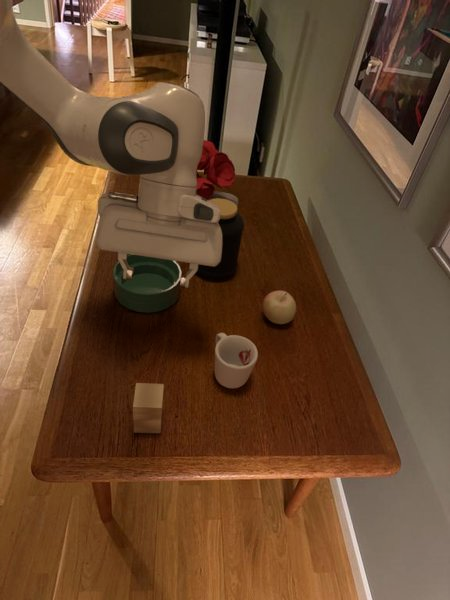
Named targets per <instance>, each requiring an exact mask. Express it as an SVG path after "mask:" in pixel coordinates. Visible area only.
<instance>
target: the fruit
mask: <svg viewBox="0 0 450 600" xmlns="http://www.w3.org/2000/svg"><path fill="white" fill-rule="evenodd" d="M261 308H262V309H261V310H262V312H263V314H264V317H266V318H267V320H269V321H270V322H271V323H273V324H275V325H284V324H288V323H290V322H291V321H292V320H293V319H294V317H295V315H296V312H297V304H296V301H295V299H294V297H293V296H292V295H291V294H290V293H289V292H287V291H285V290H279V289H278V290H274V291H271V292H269V293H268V294H266V296H265V297H264V298H263V300H262V304H261Z"/></svg>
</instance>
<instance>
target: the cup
mask: <svg viewBox="0 0 450 600" xmlns="http://www.w3.org/2000/svg"><path fill="white" fill-rule="evenodd" d="M258 357H259V352H258V348H257V346H256V345H255V344H254V342H253V341H252V340H250V339H248V338H247V337H244V336H241V335H237V334H236V335H235V334H231V335H227V334H226V333H225V332H219V333H217V334H216V336H215V347H214V376H215V379H216V381H217V383H218V384H220V385H221V386H223V387H225V388H227V389H238V388H240V387H242V386H244V385H246V383H247V381H248V380H249V378H250V376H251V374H252V371H253V369H254V367H255V365H256V363H257V361H258Z"/></svg>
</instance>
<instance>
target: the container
mask: <svg viewBox="0 0 450 600" xmlns="http://www.w3.org/2000/svg"><path fill="white" fill-rule="evenodd" d="M208 201H210V202H212V203H214V204H216V205H217V206H218V207H219V208H220V210H221V216H220V220H219V221H218V223H219V225H220V227H221V231H222V255H221V261H220V263H219V264H218V265H216V266H215V267H213V266H206V265H200V264H198V270H197V272H198V274H200V275H202V276H203V277H205V278H206V277H207V278H211V279H222V278H227V277H229V276H231V275H233V274H234V273H235V271H236V270H237V268H238V266H239V264H238V263H239V262H238V258H239V253H240V247H241V242H242V237H243V232H244V228H245V220H244V218H243V217H242V215H241V214H240V213H238V210H239V209H238V205H237V206H236V204H235V203H233V202H232V201H229V200H226V199H219V198H216V199H208Z"/></svg>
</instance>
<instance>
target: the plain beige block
mask: <svg viewBox="0 0 450 600" xmlns="http://www.w3.org/2000/svg"><path fill="white" fill-rule="evenodd" d="M164 389H165V385H164V383H152V382H151V383H150V382H149V383H148V382H147V383H146V382H136V383H135V388H134V395H133V403H132V421H133V433H135V434H161V433H162V424H163V423H162V420H163V409H164V408H163V407H164Z"/></svg>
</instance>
